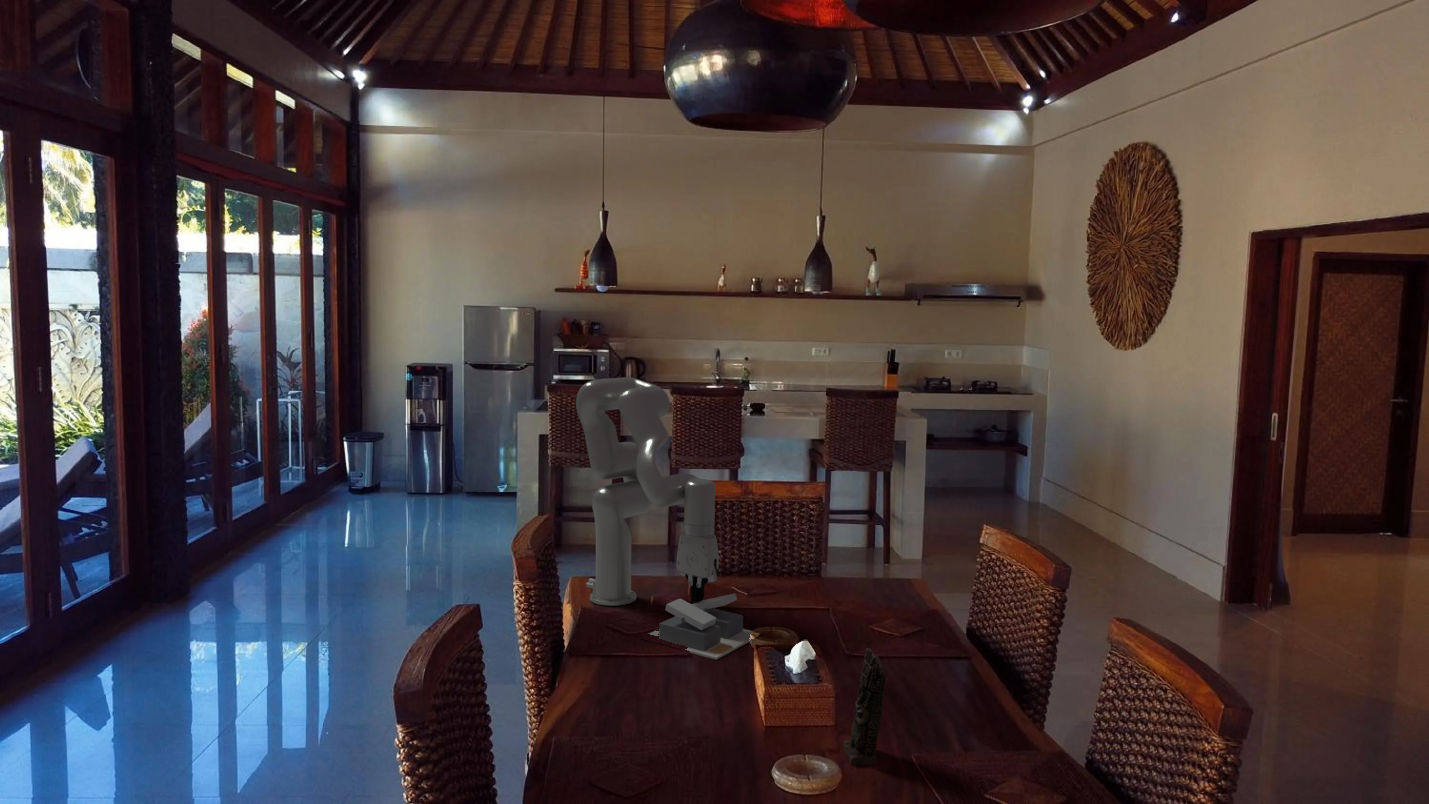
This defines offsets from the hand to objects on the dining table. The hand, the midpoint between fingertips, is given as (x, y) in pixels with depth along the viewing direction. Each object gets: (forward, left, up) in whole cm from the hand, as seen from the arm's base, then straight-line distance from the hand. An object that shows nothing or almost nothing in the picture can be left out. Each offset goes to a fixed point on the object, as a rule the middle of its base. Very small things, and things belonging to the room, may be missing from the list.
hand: (697, 600), depth 247 cm
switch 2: (+5, 0, 0) cm, 5 cm away
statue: (+64, -38, -7) cm, 75 cm away
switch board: (+5, -5, -7) cm, 10 cm away
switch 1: (+5, -10, 0) cm, 11 cm away
